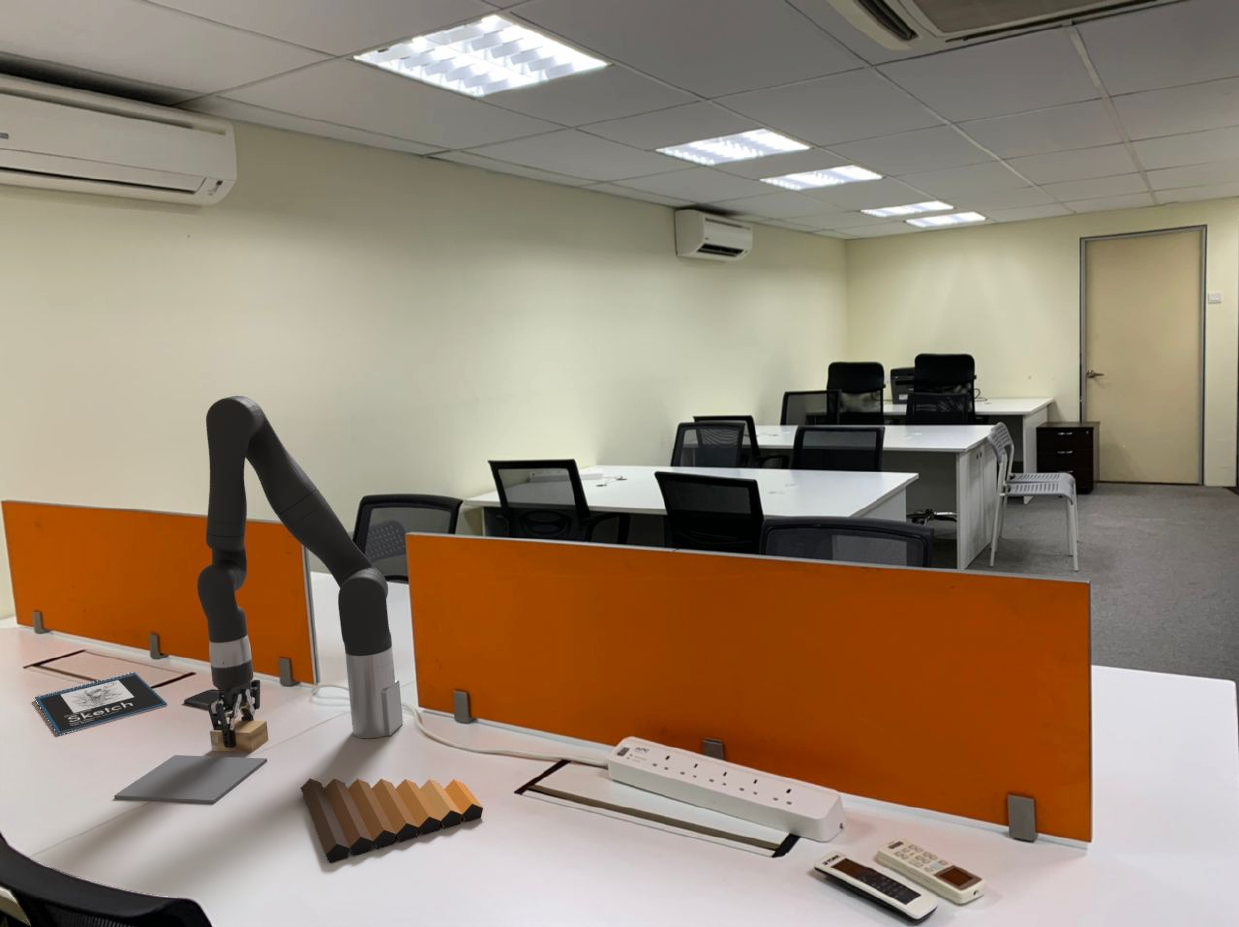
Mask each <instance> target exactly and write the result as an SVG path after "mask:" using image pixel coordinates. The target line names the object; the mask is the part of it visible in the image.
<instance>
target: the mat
mask: <svg viewBox="0 0 1239 927" xmlns="http://www.w3.org/2000/svg"><path fill="white" fill-rule="evenodd" d="M267 762H268V759H267V758H262V757H240V756H239V757H235V756H211V755H210V756H209V755H208V756H206V755H183V754H182V755H180V754H174V755H173V756H171V757H170V758H168V759H167V760H165V761H164V762H162V763H161V764H159V765H158V766H156V767H155V768H153V769H152V770H150V771H149V772H147V773H146V774H145V775H143V776H141V777H140V778H138V779H137V780H135V781H134V782H132V783H131V784H129V785H127V786H126V787H125V788H123V789H121V790H120V791H119V792H117V793H116V794H114V796H113V798H114V799H115V800H116V799H118V800H134V801H135V800H138V801H154V802H155V801H156V802H175V803H176V802H178V803H180V802H181V803H193V804H194V803H197V804H215V803H217V802H218V801H220V799H222V798H223V797H224V796H225V795H226V794H228V793H229V792H230V791H232V790H233V789H235V788H236V787H237V786H239V784H241V783H242V782H243V781H245V780H246V779H247V778H248V777H250V776H251V775H252V774H253V773H254V772H256V771H257V770H259V768H260V767H262V766H263V765H264V764H266V763H267Z"/></svg>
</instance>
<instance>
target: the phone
mask: <svg viewBox="0 0 1239 927" xmlns="http://www.w3.org/2000/svg"><path fill="white" fill-rule="evenodd" d="M217 700H218V689H217V688H216V689H215V688H210V689H207V690H205V691H201V692H199V693H197V694H195V695H192V696H190V697H187V698H185V699H183V704H184V705H186V706H192V707H196V708H200V709H204V710H208V704H209V703H214V702H216V701H217ZM226 713H230V711H227V710H226Z"/></svg>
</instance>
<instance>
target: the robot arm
mask: <svg viewBox="0 0 1239 927" xmlns="http://www.w3.org/2000/svg"><path fill="white" fill-rule="evenodd" d="M205 424H206V437H207V438H206V439H207V445H208V455H209V456H208V458H209V461H208V462H209V491H208V507H207V518H206V529H205V530H206V533H205V543H206V546H207V547H208V548H209V549H211V556H212V557H211V559H212V560H211V564H209V565H208V566H206V567H204V568H203V569H202V570H201V571H200V572H199V575H198V577H197V583H196V587H197V588H196V589H197V596H198V600H199V602H200V604H201V605H200V606H201V607H202V611H203V614H204V616H205V617H206V620H207V633H208V641H209V642H208V643H209V651H208V653H209V654H208V655H209V663H210V671H211V678H212V679H211V680H212V685H213V686H214V687H215V688H216V690H218V700H217V701H216V702H214V703H209V704H208V709H207V711H208V714H209V718H210V722H211V726H212V730H213V729H214V730H217V731H222V735H223V743H224V746H225V747H226V748H234V747H235V746H236V738H235V729H234V724H235V720H236V718H238V717H239V712H240V714H241V718H240V719H241V720H242V721H255V718H254V716H255V714H256V710H259V709H260V707H261V680H260V679H254V668H253V660H252V651H251V650H252V649H251V643H250V640H249V635H248V626H247V624H248V623H247V617H246V613H245V610H244V609H243V608H242V607H240V606H238V602H237V599H236V592H237V591H238V590H240V589H241V588H242V587H243V585H244V583H245V582H246V578H247V574H248V560H247V559H248V558H247V550H246V545H245V539H246V538H245V537H246V531H247V530H246V529H247V516H248V514H247V513H248V501H247V494H246V493H247V492H246V486H245V485H246V484H245V464H246V460H247V461H248V462H249V464H250V465H251V467H252V469H253V470H254V472H255V473H256V475H257V478H258V480H259V482H260V485H261V488H262V491H263V493H264V495H265V497H266V500H267V502H268V504H269V505H270V508H271V509H272V511H273V512H274V513H275V515H276V516H277V517H278V519H279V520H280V521H281V524H283V525H284V527H285V528H286V530H287V531H288V532H289V534H290V535H291V536H292V537H294V539H295V540H296V541H298V542H299V543H300V544H301V545H302V546H303V547H305V548H306V549H307V550H308V551H309V552H311V553H312V554H313V555H314V556H316V557H317V559H318V560H320V561H321V562H322V563H323V565H325V567H326V568H327V570H328V571H329V573H330V575H332V577H333V579H334V581H335V582H336V583H337V585H338V587H339V591H338V595H337V605H338V614H339V615H338V616H339V624H340V631H341V632H340V633H341V639H342V642H343V644H344V645H343V646H344V654H345V664H346V676H347V685H348V696H349V705H350V715H351V726H352V734H353V735H354V737H357V738H361V739H374V738H381V737H384V736H385V737H386V736H388V737H389V736H392V735H393V734H394V733H395V732H396V731H397V730H398V729H399V728H400V727H401V726H402V725H403V724H404V719H403V709H402V708H403V707H402V696H401V687H400V686H401V685H400V681H399V679H396V677H395V676H396V675H395V665H394V655H393V654H394V653H393V643H392V642H393V641H392V633H391V630H390V626H389V625H390V624H389V615H388V605H387V600H388V594H389V586H388V582H387V579H386V577H385V576H384V575H383V574H382V572H381V571H380V570H379V569H378V568H377V567H376V566H375V565H374V564H373V563H372V562H371V560H370V559H369V558H368V557H367V556H366V555H365V554H364V553H363V552H362V550H360V548H359V547H358V546H357V545H356V543H355V542H354V541H353V539H352V538H351V536H350V535H349V533H348V532H347V530H346V528H345V526H344V525H343V523H342V522H341V520H340V519H339V517H338V516H337V514H336V513H335V511H334V510H333V508H332V507H331V505H330V504H329V503H328V501H327V500H326V498H325V497H324V495H323V494H322V493H321V491H320V490H319V489H318V488H317V486H316V484H315V483H314V482H313V481H312V479H311V478H310V477H309V476H308V475H307V473H306V471H304V470H303V468H302V467H301V466H300V465H299V463H298V462H297V461H296V460H295V458H293V456H292V455H291V453H289V451H288V450H287V448H286V447H285V445H284V444H283V443H282V441H281V440H280V438H279V436H278V434H277V433H276V431H275V429H274V428H273V426H272V425H271V422H270V421H269V419H268V418H267V416H266V413H265V412H264V410H263V409H262V407H261V406H260V405H259V404H258V403H257V402H256V401H255V400H253V399H252V398H249V397H247V396H244V395H243V396H242V395H233V396H229V397H224V398H221V399H218V400H217V401H215V402H213V403H212V405H211V406H210V407H209V409H208V410H207V413H206V417H205ZM226 710H227V711H229V712H226ZM230 712H231V713H230ZM227 720H229V724H227Z"/></svg>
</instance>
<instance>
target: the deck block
mask: <svg viewBox="0 0 1239 927" xmlns="http://www.w3.org/2000/svg"><path fill="white" fill-rule="evenodd" d="M226 720H227V724H229V719H226ZM267 723H268V722H267V720H264V721H263V720H254V721H242V720H239V719H235V724H234V729H235V738H236V746H235V747H234V748H226V747H225V746H224V743H223V735H222V731H217V730H214V729H213V728H212V729H211V730H209V736H210V745H211V751H215V752H241V753H253V752H255V751H256V750H257V749H259V748H260V747H261V746H263V745H264V744H265V743H267V742H268V741H269V731H268V724H267Z"/></svg>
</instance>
